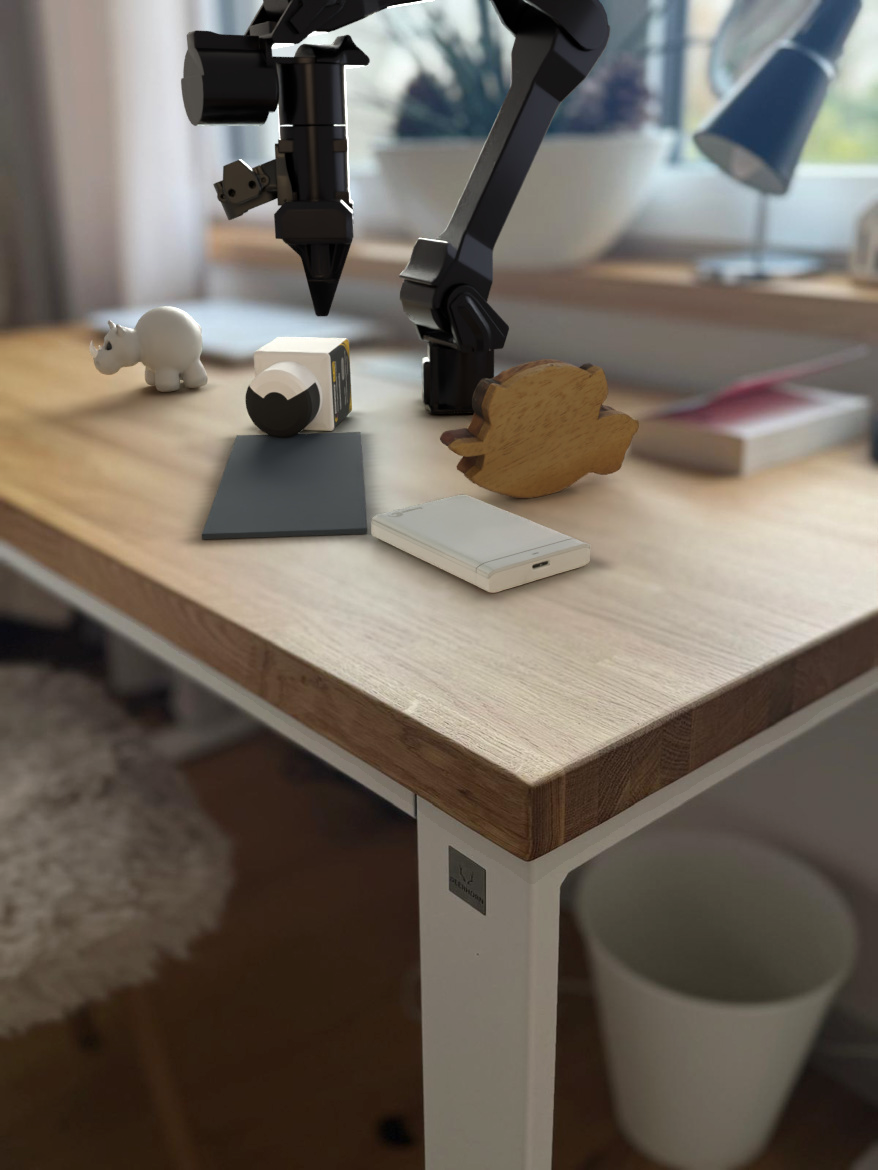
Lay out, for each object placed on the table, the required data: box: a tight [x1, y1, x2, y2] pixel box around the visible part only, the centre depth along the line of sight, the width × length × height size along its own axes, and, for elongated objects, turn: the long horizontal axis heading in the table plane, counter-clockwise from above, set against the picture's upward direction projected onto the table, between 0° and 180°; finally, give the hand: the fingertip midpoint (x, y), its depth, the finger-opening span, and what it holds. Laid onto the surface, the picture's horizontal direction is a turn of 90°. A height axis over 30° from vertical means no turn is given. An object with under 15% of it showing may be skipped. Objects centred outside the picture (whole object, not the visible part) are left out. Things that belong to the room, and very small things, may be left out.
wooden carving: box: [439, 358, 640, 499], centre depth 79 cm, size 16×5×10 cm, turn 123°
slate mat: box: [201, 431, 368, 540], centre depth 84 cm, size 11×26×1 cm, turn 5°
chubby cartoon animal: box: [88, 305, 208, 393], centre depth 114 cm, size 7×12×8 cm, turn 121°
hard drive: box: [370, 493, 591, 594], centre depth 69 cm, size 2×8×12 cm
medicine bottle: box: [244, 336, 353, 438], centre depth 98 cm, size 7×7×12 cm
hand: (322, 315), depth 97 cm, fingers closed
